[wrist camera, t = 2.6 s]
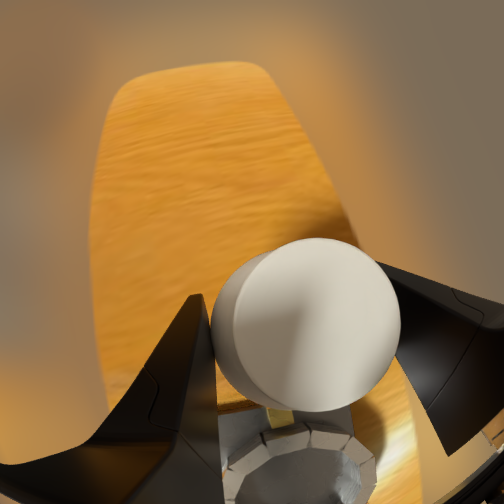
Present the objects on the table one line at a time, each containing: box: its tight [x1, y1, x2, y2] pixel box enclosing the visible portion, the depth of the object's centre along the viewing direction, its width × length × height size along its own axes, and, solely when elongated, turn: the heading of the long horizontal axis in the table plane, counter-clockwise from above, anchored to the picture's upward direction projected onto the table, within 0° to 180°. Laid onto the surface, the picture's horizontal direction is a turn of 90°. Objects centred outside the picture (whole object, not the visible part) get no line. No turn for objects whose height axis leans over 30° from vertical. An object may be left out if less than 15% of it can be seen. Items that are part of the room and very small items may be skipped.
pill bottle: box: [210, 238, 401, 412], centre depth 10 cm, size 5×5×10 cm
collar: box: [222, 407, 377, 504], centre depth 11 cm, size 10×9×2 cm
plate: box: [218, 404, 355, 504], centre depth 11 cm, size 14×8×1 cm, turn 12°
